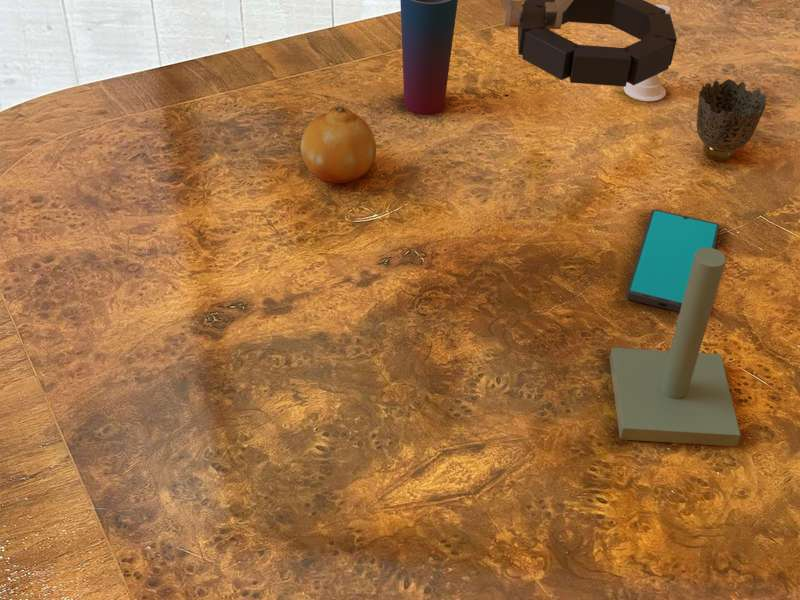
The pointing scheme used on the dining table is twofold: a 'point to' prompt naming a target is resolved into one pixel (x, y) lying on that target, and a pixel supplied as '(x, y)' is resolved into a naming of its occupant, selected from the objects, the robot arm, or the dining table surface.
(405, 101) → the cup
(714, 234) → the smartphone
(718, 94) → the cup
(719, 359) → the post
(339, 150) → the fruit
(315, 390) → the dining table surface
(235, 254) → the dining table surface
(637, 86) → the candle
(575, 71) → the ring
